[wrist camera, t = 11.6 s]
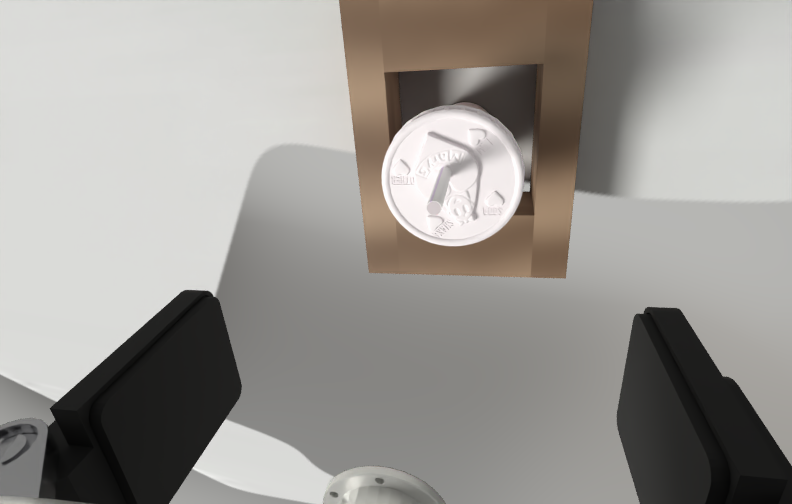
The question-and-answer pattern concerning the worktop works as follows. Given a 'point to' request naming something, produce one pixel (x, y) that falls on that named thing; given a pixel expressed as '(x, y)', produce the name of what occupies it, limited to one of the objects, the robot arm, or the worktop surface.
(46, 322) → the worktop surface
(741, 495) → the robot arm
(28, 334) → the worktop surface
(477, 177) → the smoothie
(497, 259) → the cutout board
